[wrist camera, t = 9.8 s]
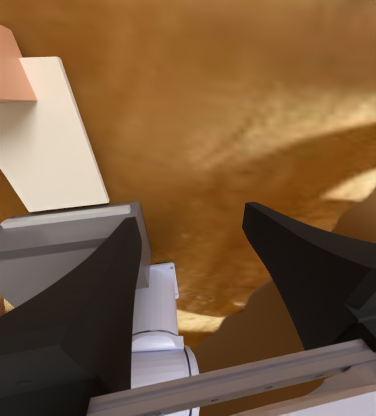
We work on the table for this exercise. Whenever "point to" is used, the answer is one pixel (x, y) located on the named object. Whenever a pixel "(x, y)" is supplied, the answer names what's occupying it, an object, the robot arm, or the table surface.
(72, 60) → the table surface
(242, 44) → the table surface
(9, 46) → the peach block on base
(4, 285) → the dispenser
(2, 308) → the milk carton
